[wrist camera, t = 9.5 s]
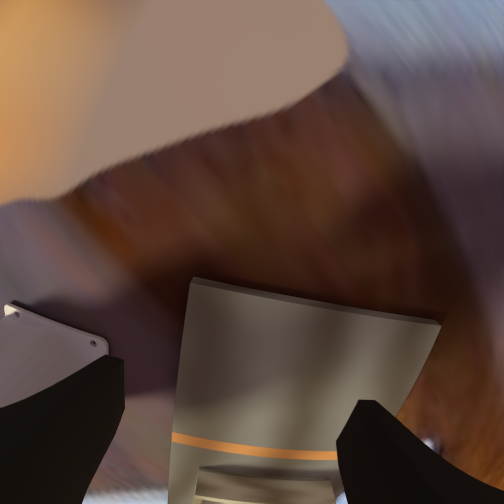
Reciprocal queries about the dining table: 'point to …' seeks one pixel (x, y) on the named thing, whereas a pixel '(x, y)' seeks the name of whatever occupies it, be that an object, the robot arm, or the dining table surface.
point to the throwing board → (279, 391)
